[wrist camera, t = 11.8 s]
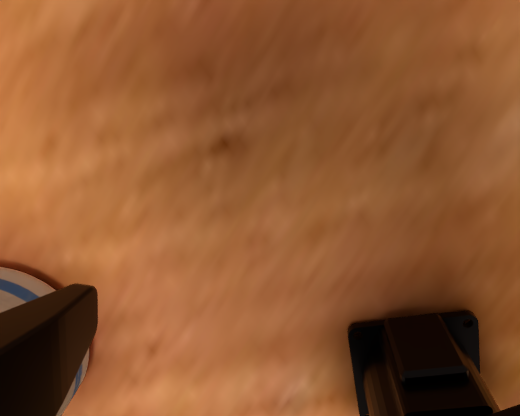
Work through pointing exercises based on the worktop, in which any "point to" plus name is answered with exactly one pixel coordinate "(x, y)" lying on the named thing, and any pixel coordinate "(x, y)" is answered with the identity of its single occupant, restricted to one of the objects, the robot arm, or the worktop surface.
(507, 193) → the worktop surface
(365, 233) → the worktop surface
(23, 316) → the robot arm
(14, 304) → the supplement tub
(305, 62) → the worktop surface
